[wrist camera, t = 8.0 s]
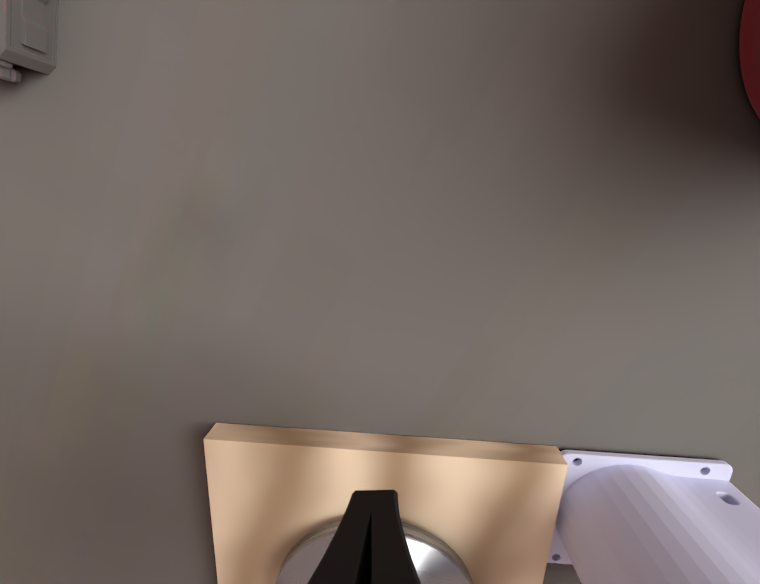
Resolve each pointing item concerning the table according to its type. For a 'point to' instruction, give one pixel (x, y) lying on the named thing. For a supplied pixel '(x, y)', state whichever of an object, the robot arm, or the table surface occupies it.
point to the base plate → (380, 472)
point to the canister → (751, 51)
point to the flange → (429, 553)
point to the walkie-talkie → (27, 36)
